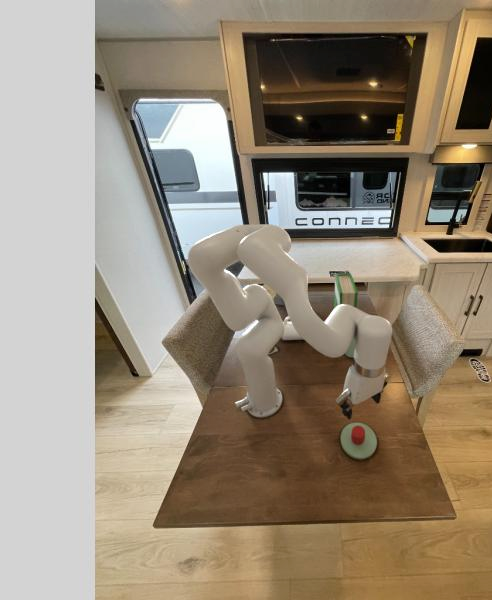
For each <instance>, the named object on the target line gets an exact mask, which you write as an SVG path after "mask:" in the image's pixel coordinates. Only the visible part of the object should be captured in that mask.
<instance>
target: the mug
mask: <svg viewBox="0 0 492 600" xmlns="http://www.w3.org/2000/svg"><path fill="white" fill-rule="evenodd" d="M283 324H284V328H285V330H284V334H283V336H282V337H281V341H301V340H303V341H304V339H303V338H302V337H301V336H300V335H299V334H298V333H297V331H296V330H295V328H294V326H293V324H292V322H291V320H290V318H289V316H288V315H287V316H286V317H285V319H284V320H283Z"/></svg>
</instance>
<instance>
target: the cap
mask: <svg viewBox="0 0 492 600" xmlns="http://www.w3.org/2000/svg"><path fill="white" fill-rule="evenodd" d="M364 439H365V430H364V428H363V427H361V426H354V427H353V429H352V433H351V440H352V442H353V443H354V444H356V445H361V444H362V443H363V442H364Z"/></svg>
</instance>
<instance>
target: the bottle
mask: <svg viewBox="0 0 492 600" xmlns="http://www.w3.org/2000/svg"><path fill="white" fill-rule="evenodd" d="M355 344H356V341H355V339H353V340H352V342H351V344H350V346H349V348H348V350H347V351H346V352H345V353H344V355H345V356H346V357H347V358H350V359H351V358H353V359H354V351H355Z"/></svg>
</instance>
